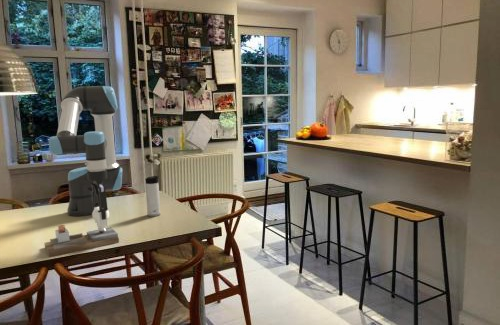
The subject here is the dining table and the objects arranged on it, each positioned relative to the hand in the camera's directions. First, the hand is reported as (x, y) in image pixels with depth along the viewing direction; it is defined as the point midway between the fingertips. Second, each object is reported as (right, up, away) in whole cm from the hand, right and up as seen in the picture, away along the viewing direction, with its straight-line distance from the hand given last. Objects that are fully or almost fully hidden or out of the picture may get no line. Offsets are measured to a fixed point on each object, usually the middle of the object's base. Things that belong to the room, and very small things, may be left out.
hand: (101, 224), depth 169 cm
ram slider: (-12, -7, -7) cm, 16 cm away
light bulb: (0, -4, +1) cm, 4 cm away
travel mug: (+13, -1, +37) cm, 39 cm away
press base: (-7, -8, -3) cm, 11 cm away
